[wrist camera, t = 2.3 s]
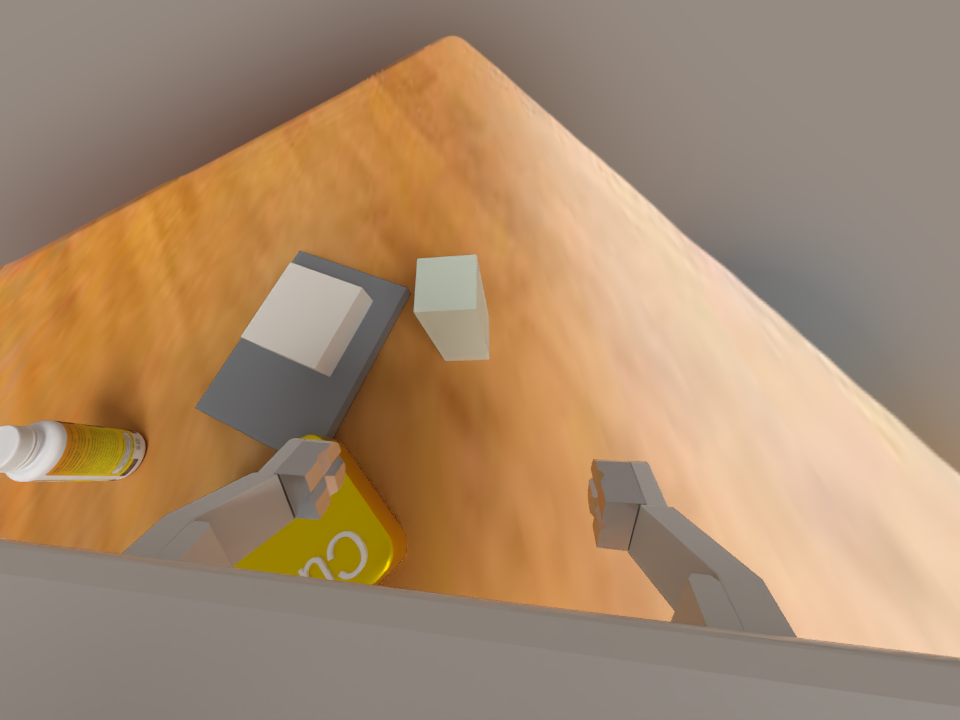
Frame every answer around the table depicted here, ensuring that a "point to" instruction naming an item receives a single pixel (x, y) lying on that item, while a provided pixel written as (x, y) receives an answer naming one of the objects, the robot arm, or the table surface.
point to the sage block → (453, 306)
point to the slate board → (294, 386)
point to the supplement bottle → (68, 452)
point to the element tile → (337, 536)
